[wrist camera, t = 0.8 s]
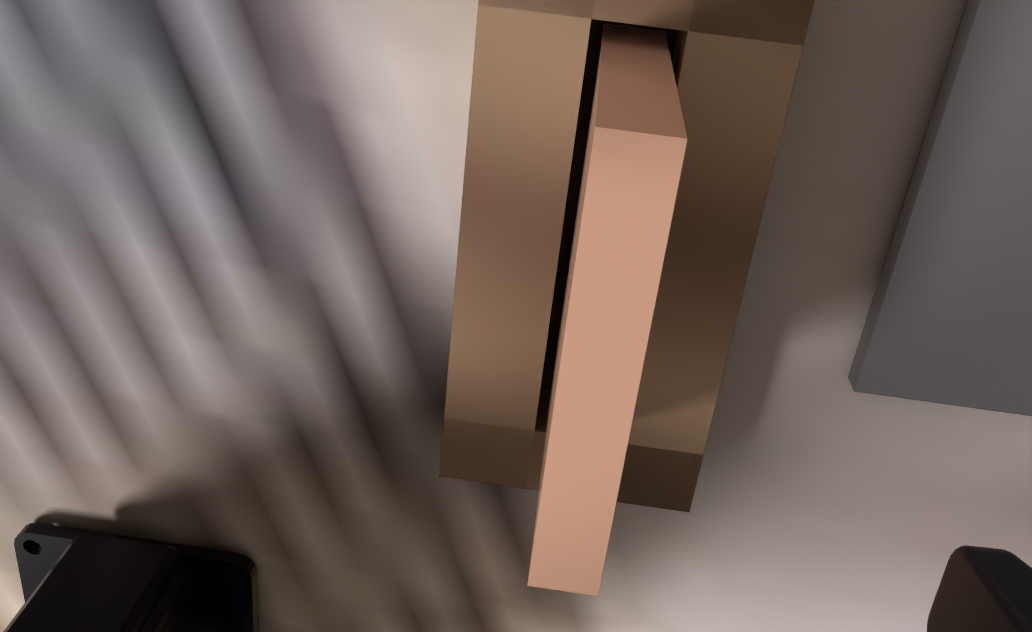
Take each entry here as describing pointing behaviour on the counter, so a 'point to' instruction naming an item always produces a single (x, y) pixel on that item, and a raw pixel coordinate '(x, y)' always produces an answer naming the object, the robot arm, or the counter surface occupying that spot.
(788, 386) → the counter surface
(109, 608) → the robot arm
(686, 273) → the stand
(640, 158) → the tile
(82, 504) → the counter surface
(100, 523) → the counter surface
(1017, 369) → the mat
